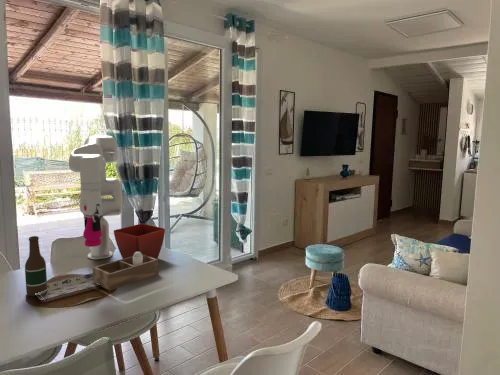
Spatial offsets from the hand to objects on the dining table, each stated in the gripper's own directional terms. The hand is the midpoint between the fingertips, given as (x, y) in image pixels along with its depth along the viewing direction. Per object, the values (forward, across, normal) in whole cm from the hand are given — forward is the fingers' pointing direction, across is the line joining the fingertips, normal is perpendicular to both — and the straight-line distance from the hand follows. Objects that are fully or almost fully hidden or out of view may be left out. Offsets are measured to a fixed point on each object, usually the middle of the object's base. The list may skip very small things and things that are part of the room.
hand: (92, 229), depth 154 cm
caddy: (+27, 0, +15) cm, 31 cm away
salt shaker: (+26, 0, +21) cm, 33 cm away
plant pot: (+28, -18, +35) cm, 48 cm away
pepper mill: (+7, 0, 0) cm, 7 cm away
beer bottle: (+27, -15, -17) cm, 36 cm away
